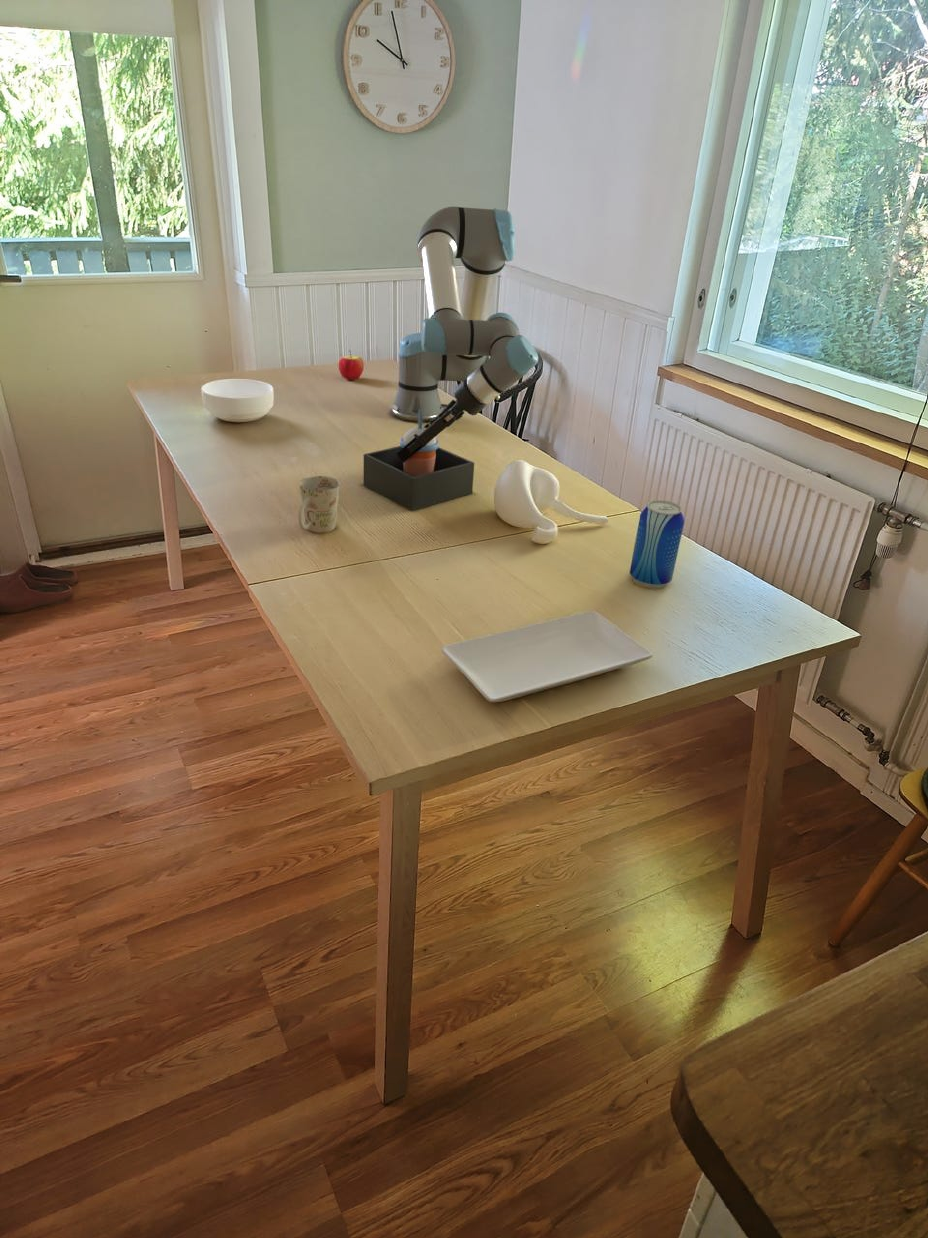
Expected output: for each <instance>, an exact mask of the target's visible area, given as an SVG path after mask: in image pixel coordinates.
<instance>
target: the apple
mask: <svg viewBox="0 0 928 1238" xmlns="http://www.w3.org/2000/svg"><path fill="white" fill-rule="evenodd" d="M348 351H349V354H350V355H346V356H345V355H344V356H341V357H340V358H339V359H338V364H337V365H338V370H339V371H338V372H339V373H340V375H341V376H342V378H344V379H345V380H348V381H356V380H358V379H359V378H360V377H361V376H362V374H363V371H364V368H365V367H364V365H365V364H364V360H363V358H362V357H361V356H358V355H352V353H351V350H350V349H349V350H348Z"/></svg>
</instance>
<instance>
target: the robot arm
mask: <svg viewBox="0 0 928 1238" xmlns="http://www.w3.org/2000/svg"><path fill="white" fill-rule="evenodd" d="M515 237H516V236H515V222H514V218H513V215H512V213H511V212H510V211H509V210H506V209H498V208H496V207H494V208H493V209H492V208H491V209H490V208H479V207H478V208H477V207H461V206H447V207H443V208H441V209H439V210H437V211H436V212H434V213H433V214H432V215H430V216H429V217H428V218H427V220H425V222H424V223H423V225H422V226H421V228H420V230H419V232H418V236H417V239H416V240H417V241H416V252H417V257H418V259H419V261H420V262H421V263H422V264H423V265H422V266H423V267H422V269H423V277H424V287H425V295H426V304H427V313H428V318H424V319H423V321H422V323H421V332H416V333H410V334H409V335H406V336H404V337H402V338H401V339H400V342H399V351H398V358H399V360H398V387H397V391H396V395H395V398H394V402H393V403H392V405H391V414H392V416H393V417H395V418H396V419H399V420H402V421H406V422H415V423H416V422H417V423H418V420H419V409H422V410H423V415H422V423H427V424H425V425H424V426H423V427H424V428H427V429H425V430H424V431H423V432H422V433H421V434H420V435H418V436H417V434H415V435H414V436H415V438H414V439H413V440H411V441H410V442H409V443H408V444H407V445H405V446H404V447H403V448H402V449H401V450H400V451H398V452H397V453H396V454H397V455H398V457H399V458H400V459H401V460H402V461H403V462H405V461H406V460H408V459H409V458H410V457H411V456H413V455H414V454H415V453H416V452H417V451H419V450H420V449H421V448H422V447H425V446H426V444H427V443H429V442H430V441H431V440H432V439H433V438H434V437H435V438H436V437H437V436H439V435H440V433H442V432H443V431H444V430H445V429H446V428H449V427H450V426H451V425H452V424H454V422H456V421H458V420H460V419H461V418H462V417H463V415H464V414H465V412H466V413H468V414H469V415H470V416H476V415H478V414H479V413H480V412H481V411H482V410H484V409H485V408H486V407H487V405H489V404H490V403H492V402H493V401H494V400H496V401H499V400H500V399H501V396H500V395H501V394H502V393H504V392H505V391H507V390H508V389H509V388H511V386H513V385H514V384H515V383H516V382H518V381H520V379H522V378H523V377H525V376H526V375H527V374H528V373H529V372H530V371H531V370H532V369H533V368H534V367H535V366H536V365H538V362H539V355H538V352H537V351H536V349H535V347H534V345H533V344H532V343H531V341H529V339H528V338H527V337H526V336H524V335H522V334H521V333H520V330H519V327H518V325H517V322H516V320H515V318H513V317H512V315H510V314H509V313H507V312H496V313H494V314H492V315H490V313H491V307H492V304H493V297H494V291H495V288H496V287H495V286H496V281H497V277H498V276H497V275H498V274H500V273H501V272H502V271H503V269H504V268H505V265H506V262H512V261H513V260H514V258H515V244H516V243H515V242H516V241H515V240H516V239H515ZM455 259H460V263H461V265H462V267H464V269H463V270H464V272H463V277H462V278H463V279H462V284H461V291H460V293H459V286H458V277H457V270H456V264H455ZM439 382H460V383H459V384H458V385H456V386H455V387H454V388H453V395H454V398H455V399H452V400H451V401H450V402H449V403H448V404H445V403H442V402H441V398H440V394H439V390H438V389H439Z"/></svg>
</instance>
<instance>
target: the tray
mask: <svg viewBox="0 0 928 1238" xmlns="http://www.w3.org/2000/svg"><path fill="white" fill-rule="evenodd" d="M441 653H442V654H443V655H444V656H445V657H446V658H447V659H448V660H449V661H450V662H451V663H452V664H453V665H454V666H455V667H456V668H457V669H458V670H459V671H460V673H462V675H463V676H465V677H466V678H467V680H468V681H469V682H470V683H471V685H473V687H474V688H475V689H476V690H477V691H478V692H479V693H480V694H481V695H482V697H484V699H486V701H488V702H489V703H502V702H503V703H504V702H508V701H511V700H514V699H518V698H520V697H525V696H527V695H528V696H529V695H531V694H535V693H539V692H542V691H544V690H549V689H553V688H555V687H560V686H564V685H566V684H570V683H573V682H577V681H580V680H584V679H587V678H590V677H594V676H598V675H601V674H606V673H608V672H613V671H615V670H619V669H622V668H623V669H624V668H626V667H629V666H632V665H636V664H639V663H643V662H645V661H647V660H649V659H651V658H653V653H652V652H651V651H650V650H649V649H647V648H646V647H645V646H643V645H642V644H641V643H639V642H638V641H637V640H635V639H634V638H633V637H631V636H630V635H629V634H628V633H626V632H625V631H624V630H622V629H620V628H619V627H618V626H617V625H616V624H614V623H612V622H611V621H610V620H608V619H607V618H606V617H605V616H603V615H602V614H600V613H599V612H597V611H595V610H586V611H582V612H578V613H574V614H571V615H567V616H562V617H558V618H554V619H551V620H546V621H542V622H538V623H534V624H529V625H526V626H521V627H517V628H513V629H509V630H504V631H500V632H497V633H491V634H488V635H487V634H486V635H483V636H479V637H475V638H471V639H467V640H462V641H458V642H454V643H450V644H447V645H446V644H445V645H444V646H442V647H441Z"/></svg>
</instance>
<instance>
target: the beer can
mask: <svg viewBox="0 0 928 1238" xmlns="http://www.w3.org/2000/svg"><path fill="white" fill-rule="evenodd" d="M682 511H683V508H682V506H680V505H679V504H678V503H675V502H673V501H670V500H663V499H654V500H651V501H648V502H647V503H646V507H645V508H644V509H643V510H641V512H640V515H639V520H638V525H637V531H636V535H635V541H634V547H633V552H632V557H631V562H630V567H629V574H630V576H631V578H632V581H633V582H634V583H635V585H637V586H640V587H642V588H645V589H650V590H658V589H659V590H660V589H664V588H666V586H668V584H669V583H670V582H672V580H673V577H674V573H675V572H674V571H675V567H676V562H677V557H678V554H679V549H680V544H681V540H682V535H683V530H684V526H685V518H684V515H683V513H682Z"/></svg>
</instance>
